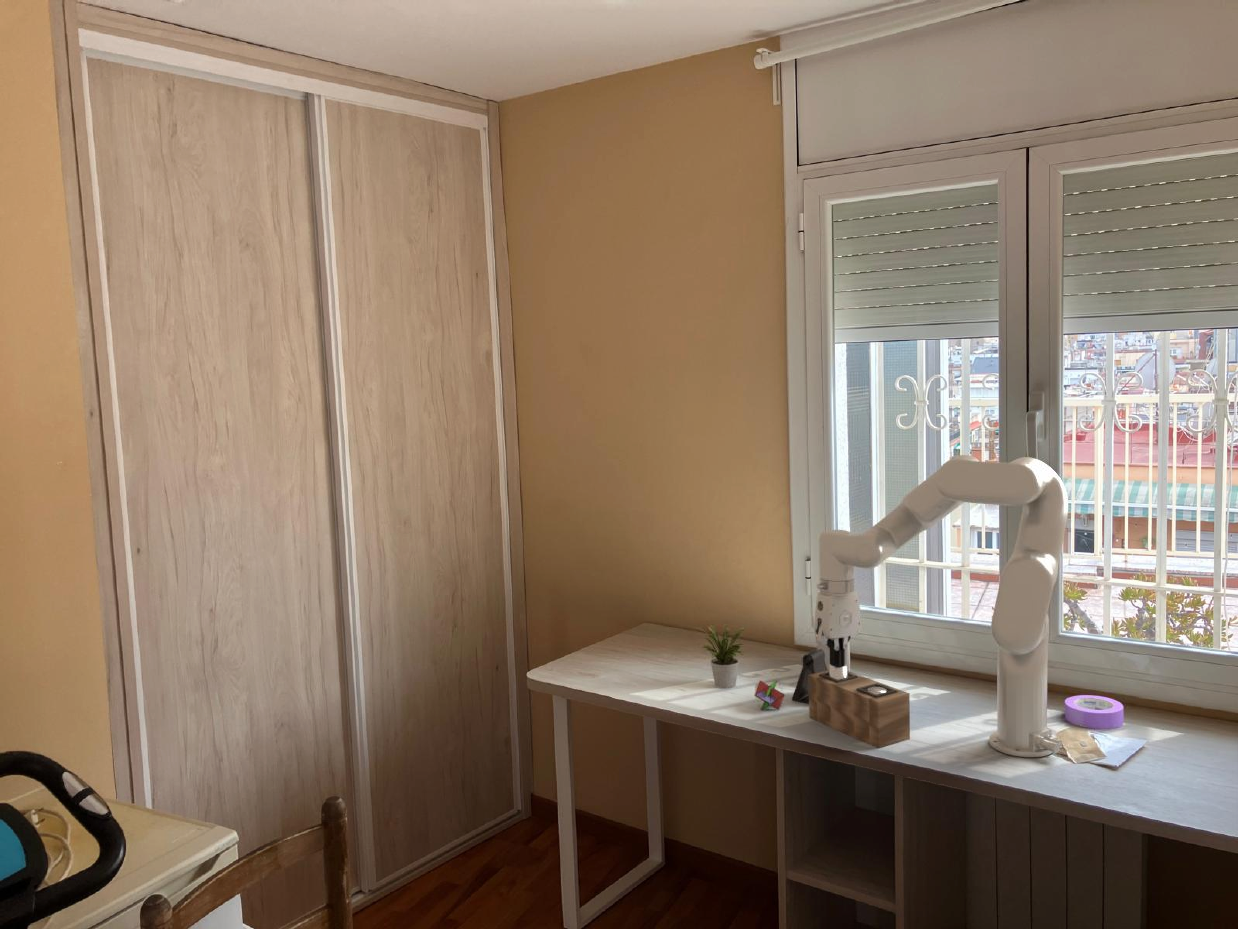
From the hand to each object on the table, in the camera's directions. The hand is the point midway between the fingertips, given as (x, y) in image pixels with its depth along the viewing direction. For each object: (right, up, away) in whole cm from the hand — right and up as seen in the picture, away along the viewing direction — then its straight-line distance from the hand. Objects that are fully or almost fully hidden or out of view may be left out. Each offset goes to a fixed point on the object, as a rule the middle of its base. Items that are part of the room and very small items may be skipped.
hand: (837, 665), depth 223 cm
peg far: (+1, -9, +1) cm, 9 cm away
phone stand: (-2, -12, +14) cm, 19 cm away
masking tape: (+56, -11, -4) cm, 57 cm away
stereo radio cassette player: (+6, -9, +33) cm, 34 cm away
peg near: (+7, -12, -9) cm, 17 cm away
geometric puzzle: (-14, -12, +10) cm, 21 cm away
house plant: (-23, -11, +28) cm, 38 cm away
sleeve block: (+4, -13, -4) cm, 14 cm away
